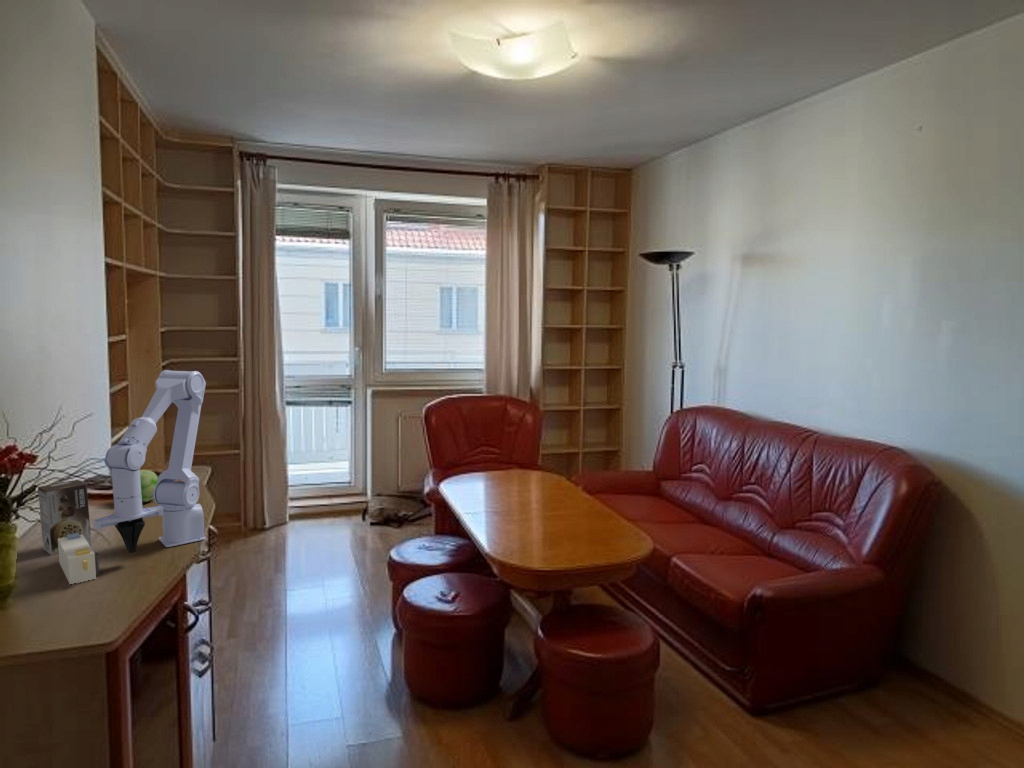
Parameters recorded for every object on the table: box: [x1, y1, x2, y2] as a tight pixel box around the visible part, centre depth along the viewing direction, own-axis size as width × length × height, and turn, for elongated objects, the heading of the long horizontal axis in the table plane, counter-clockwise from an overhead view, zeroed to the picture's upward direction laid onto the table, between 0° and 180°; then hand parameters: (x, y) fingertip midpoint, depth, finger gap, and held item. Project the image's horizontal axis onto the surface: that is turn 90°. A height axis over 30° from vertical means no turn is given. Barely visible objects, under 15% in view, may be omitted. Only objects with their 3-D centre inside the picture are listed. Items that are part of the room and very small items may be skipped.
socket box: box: [58, 533, 97, 585], centre depth 158 cm, size 5×19×7 cm, turn 40°
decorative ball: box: [140, 469, 159, 504], centre depth 212 cm, size 10×10×10 cm
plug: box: [94, 552, 100, 576], centre depth 156 cm, size 5×4×4 cm
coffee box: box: [37, 479, 93, 556], centre depth 172 cm, size 9×6×16 cm
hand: (131, 551), depth 163 cm, fingers closed
